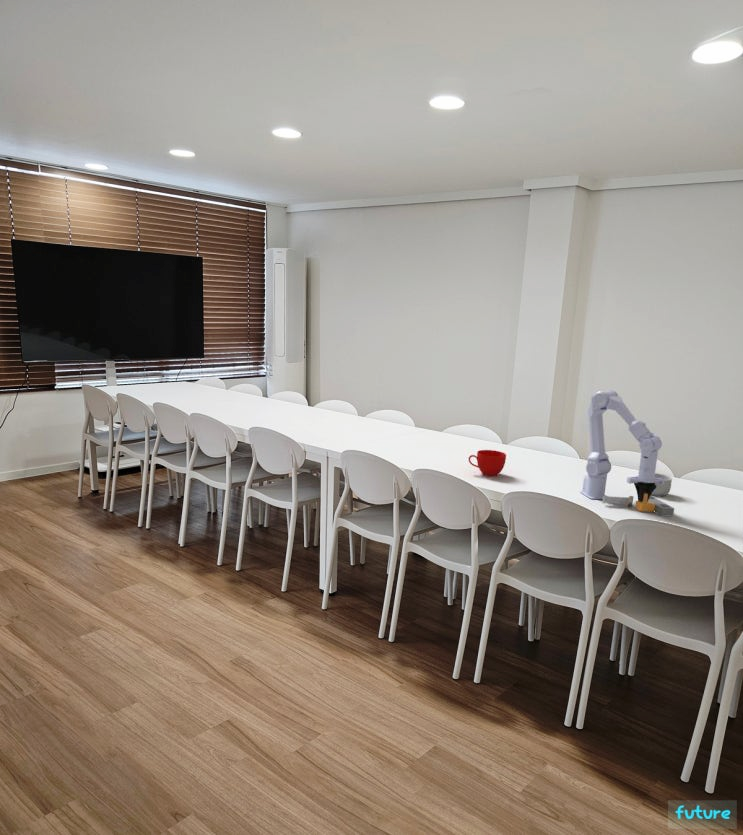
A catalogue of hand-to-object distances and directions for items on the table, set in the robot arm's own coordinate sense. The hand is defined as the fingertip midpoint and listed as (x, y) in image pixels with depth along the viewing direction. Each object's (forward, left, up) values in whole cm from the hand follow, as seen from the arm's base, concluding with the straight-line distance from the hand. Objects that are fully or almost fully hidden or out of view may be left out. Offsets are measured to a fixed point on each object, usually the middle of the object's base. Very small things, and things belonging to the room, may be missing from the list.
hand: (642, 501), depth 240 cm
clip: (-5, -7, -4) cm, 10 cm away
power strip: (-2, +7, -4) cm, 8 cm away
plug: (0, +1, -4) cm, 4 cm away
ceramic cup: (-48, -47, -4) cm, 68 cm away
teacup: (-23, +20, -4) cm, 30 cm away
